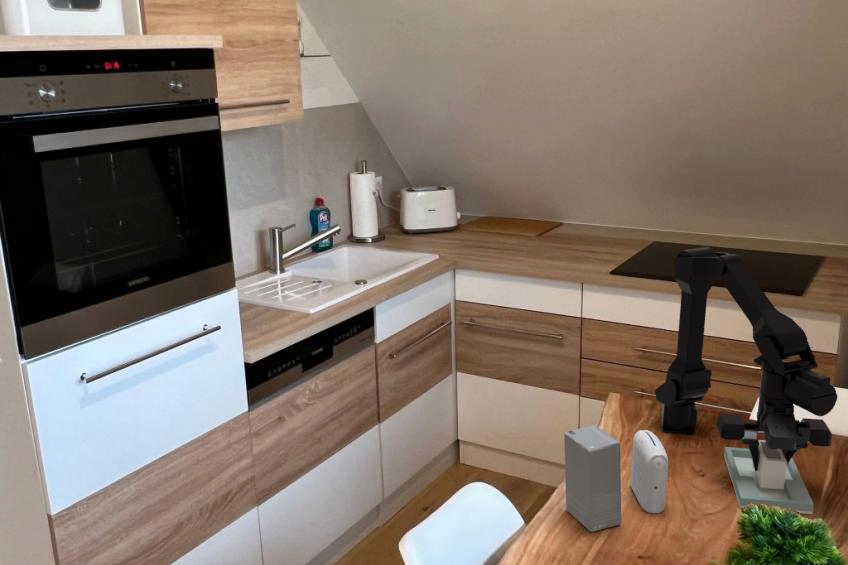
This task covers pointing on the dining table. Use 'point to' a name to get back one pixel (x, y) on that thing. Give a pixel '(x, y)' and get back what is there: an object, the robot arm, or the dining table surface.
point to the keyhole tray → (752, 493)
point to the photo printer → (649, 471)
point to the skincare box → (593, 477)
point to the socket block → (770, 467)
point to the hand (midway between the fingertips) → (768, 470)
